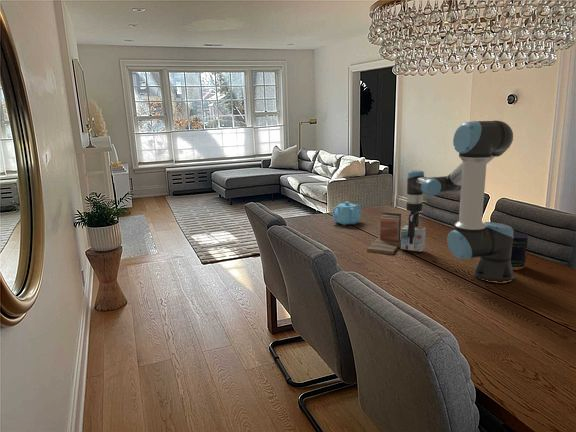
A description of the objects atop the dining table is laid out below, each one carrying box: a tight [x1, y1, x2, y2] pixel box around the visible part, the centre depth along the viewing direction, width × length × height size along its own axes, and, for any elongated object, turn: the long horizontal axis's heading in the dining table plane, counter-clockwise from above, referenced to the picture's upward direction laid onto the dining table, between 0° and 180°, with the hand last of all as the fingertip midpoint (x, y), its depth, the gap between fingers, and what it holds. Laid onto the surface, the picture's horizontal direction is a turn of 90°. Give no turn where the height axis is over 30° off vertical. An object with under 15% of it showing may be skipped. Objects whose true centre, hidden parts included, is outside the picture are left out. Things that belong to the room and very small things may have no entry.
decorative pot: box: [331, 201, 362, 226], centre depth 275 cm, size 16×16×14 cm
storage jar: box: [511, 231, 529, 267], centre depth 197 cm, size 10×10×15 cm
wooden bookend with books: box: [366, 211, 402, 256], centre depth 228 cm, size 22×13×16 cm, turn 153°
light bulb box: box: [400, 225, 426, 252], centre depth 220 cm, size 11×7×11 cm, turn 62°
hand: (412, 247), depth 221 cm, fingers closed on light bulb box, 7 cm apart
